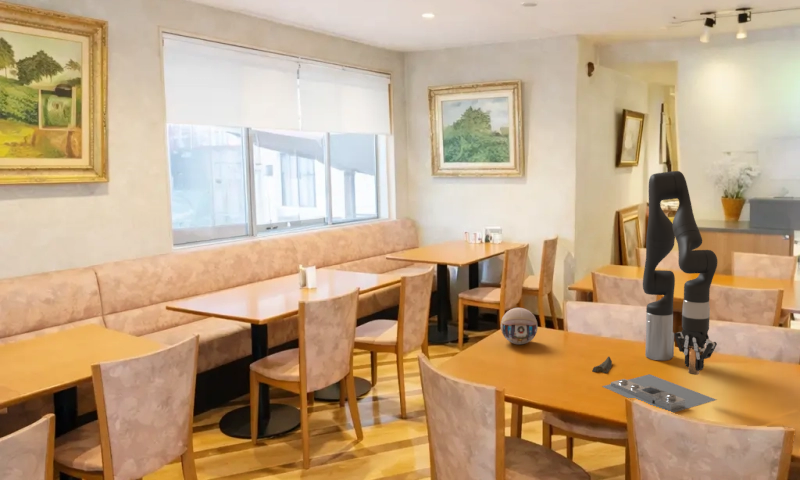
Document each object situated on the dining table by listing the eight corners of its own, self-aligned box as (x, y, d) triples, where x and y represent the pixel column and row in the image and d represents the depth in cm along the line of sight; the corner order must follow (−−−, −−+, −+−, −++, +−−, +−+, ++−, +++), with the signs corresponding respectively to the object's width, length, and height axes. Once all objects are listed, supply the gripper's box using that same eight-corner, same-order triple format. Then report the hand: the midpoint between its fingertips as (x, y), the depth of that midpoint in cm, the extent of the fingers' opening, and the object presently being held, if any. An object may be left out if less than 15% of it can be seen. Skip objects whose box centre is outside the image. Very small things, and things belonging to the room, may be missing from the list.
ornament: (493, 344, 254) (492, 308, 252) (515, 336, 264) (515, 302, 262) (523, 351, 243) (523, 314, 241) (544, 343, 253) (544, 307, 251)
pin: (692, 370, 192) (693, 346, 191) (701, 373, 190) (702, 348, 188) (686, 372, 191) (687, 347, 190) (694, 375, 188) (695, 350, 187)
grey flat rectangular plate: (649, 375, 213) (649, 374, 213) (716, 400, 190) (716, 399, 190) (601, 387, 204) (601, 386, 204) (666, 415, 181) (666, 414, 181)
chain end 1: (624, 382, 207) (624, 377, 207) (666, 399, 192) (666, 394, 191) (610, 385, 204) (610, 380, 204) (652, 403, 189) (652, 397, 189)
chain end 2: (649, 392, 197) (650, 382, 197) (684, 407, 185) (685, 396, 185) (636, 396, 195) (636, 386, 194) (670, 411, 183) (671, 400, 182)
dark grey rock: (605, 376, 215) (605, 366, 214) (591, 373, 218) (591, 363, 218) (620, 366, 224) (620, 357, 224) (606, 364, 227) (606, 354, 227)
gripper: (725, 317, 183) (722, 373, 185) (684, 307, 195) (682, 359, 198) (707, 321, 179) (705, 378, 182) (668, 311, 192) (666, 363, 195)
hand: (693, 368), depth 190 cm, fingers closed on pin, 3 cm apart
